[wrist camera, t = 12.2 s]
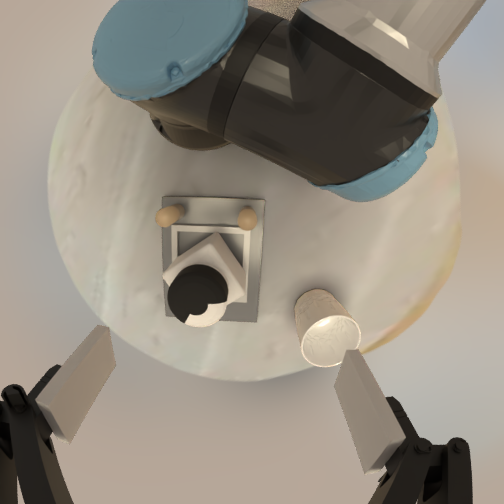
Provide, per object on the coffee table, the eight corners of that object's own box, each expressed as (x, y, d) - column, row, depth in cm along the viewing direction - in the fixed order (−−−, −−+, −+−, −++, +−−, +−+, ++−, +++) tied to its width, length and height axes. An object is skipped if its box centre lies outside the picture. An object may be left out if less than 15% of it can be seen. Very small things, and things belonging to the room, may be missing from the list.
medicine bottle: (175, 258, 37) (146, 292, 26) (217, 230, 36) (203, 254, 25) (204, 299, 39) (188, 345, 27) (247, 273, 38) (246, 314, 26)
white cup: (298, 336, 43) (310, 375, 34) (283, 296, 41) (293, 329, 32) (343, 319, 43) (365, 353, 33) (332, 277, 41) (354, 305, 31)
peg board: (164, 196, 37) (146, 200, 30) (264, 199, 38) (268, 204, 31) (167, 312, 42) (154, 336, 35) (256, 318, 42) (258, 344, 35)
